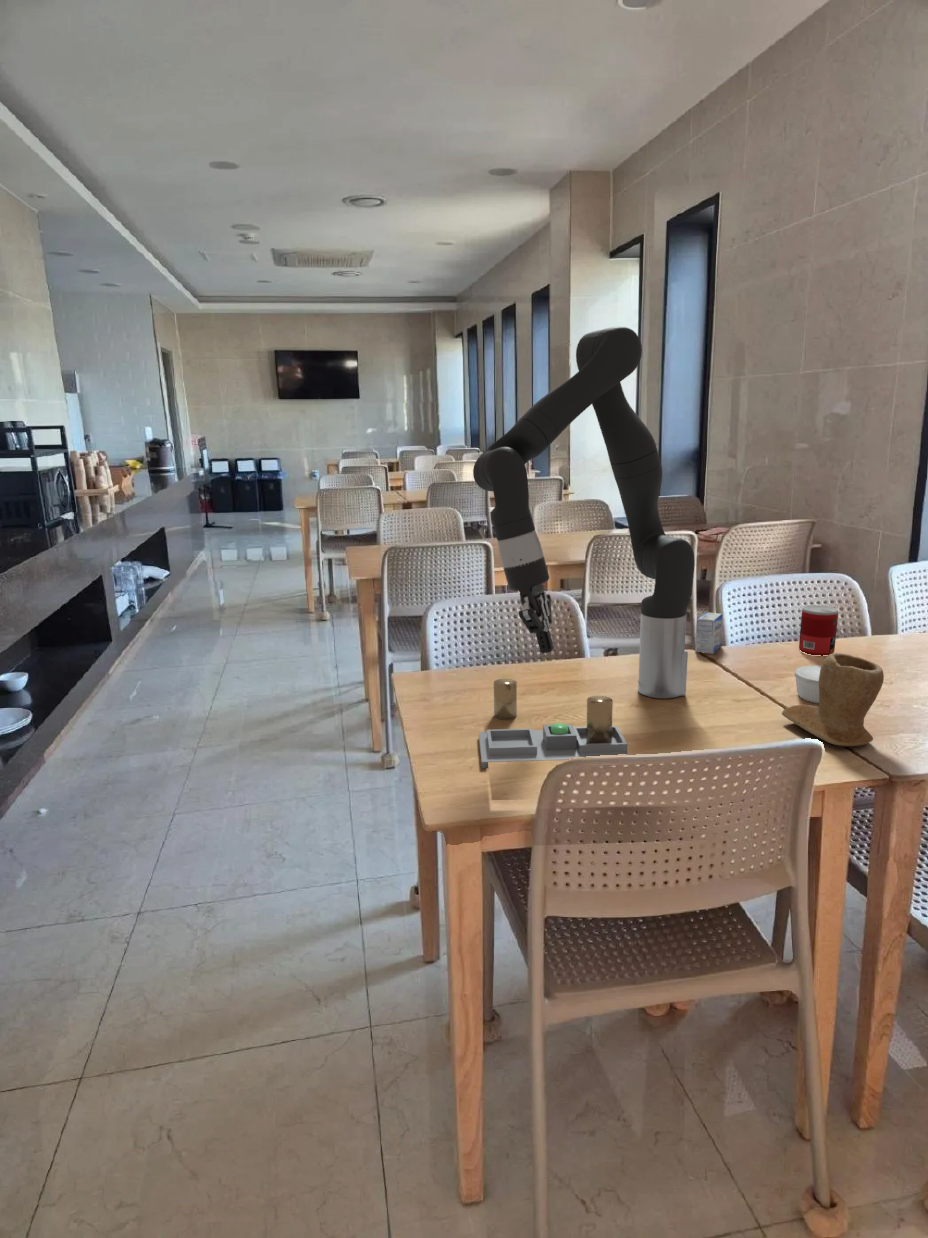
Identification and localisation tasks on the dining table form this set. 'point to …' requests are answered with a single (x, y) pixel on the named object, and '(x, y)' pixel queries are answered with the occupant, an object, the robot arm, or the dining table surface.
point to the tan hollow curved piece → (841, 701)
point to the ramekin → (808, 682)
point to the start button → (559, 728)
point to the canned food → (818, 630)
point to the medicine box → (708, 633)
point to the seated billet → (599, 720)
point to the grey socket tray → (544, 745)
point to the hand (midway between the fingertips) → (547, 651)
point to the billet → (505, 699)
